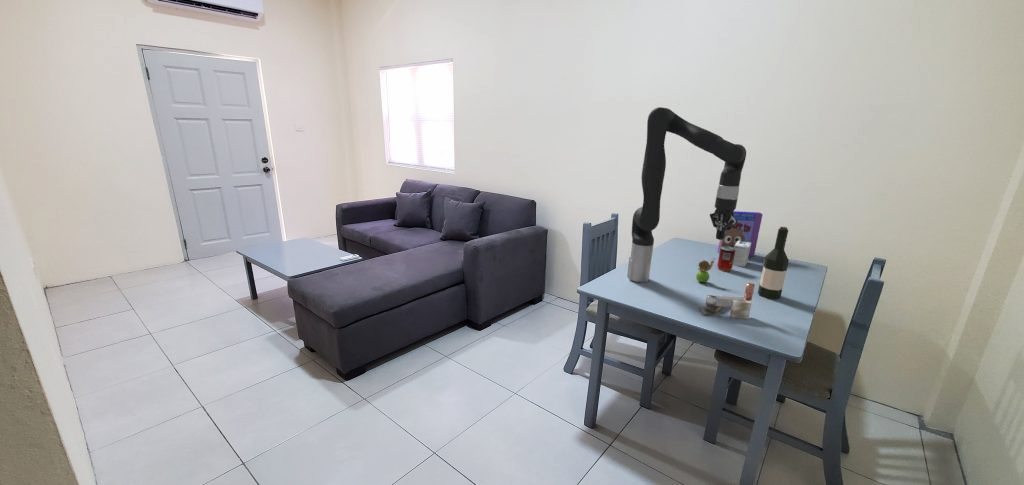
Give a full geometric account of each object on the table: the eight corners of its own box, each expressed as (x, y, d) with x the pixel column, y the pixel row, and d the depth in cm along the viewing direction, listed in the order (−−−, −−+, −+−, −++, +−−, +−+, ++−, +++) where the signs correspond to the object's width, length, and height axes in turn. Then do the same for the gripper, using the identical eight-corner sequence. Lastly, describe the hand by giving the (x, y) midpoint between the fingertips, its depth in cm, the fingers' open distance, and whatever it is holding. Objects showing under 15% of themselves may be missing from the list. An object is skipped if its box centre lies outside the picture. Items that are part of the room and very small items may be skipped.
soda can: (733, 272, 200) (737, 249, 197) (718, 270, 202) (721, 248, 199) (730, 268, 206) (734, 246, 203) (715, 266, 208) (719, 244, 205)
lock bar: (707, 305, 155) (711, 283, 152) (704, 301, 158) (707, 280, 156) (752, 308, 153) (756, 286, 151) (747, 304, 157) (752, 282, 154)
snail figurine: (712, 285, 184) (716, 259, 181) (696, 283, 185) (700, 258, 182) (708, 280, 189) (713, 256, 186) (694, 279, 191) (698, 254, 187)
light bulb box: (733, 259, 220) (737, 240, 217) (747, 262, 216) (751, 242, 213) (730, 264, 212) (734, 244, 209) (744, 267, 208) (748, 247, 205)
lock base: (704, 316, 154) (707, 300, 152) (691, 299, 169) (693, 284, 167) (748, 318, 153) (751, 303, 151) (731, 301, 168) (733, 287, 166)
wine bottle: (753, 291, 178) (767, 224, 169) (771, 291, 179) (786, 224, 170) (766, 299, 170) (781, 230, 161) (785, 299, 171) (801, 230, 162)
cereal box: (720, 254, 228) (727, 212, 221) (717, 251, 232) (724, 210, 226) (753, 256, 225) (762, 214, 218) (750, 253, 230) (759, 212, 223)
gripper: (707, 194, 165) (700, 235, 170) (731, 200, 153) (723, 244, 158) (722, 193, 167) (715, 234, 172) (748, 199, 155) (739, 243, 160)
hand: (719, 239), depth 165 cm, fingers closed
